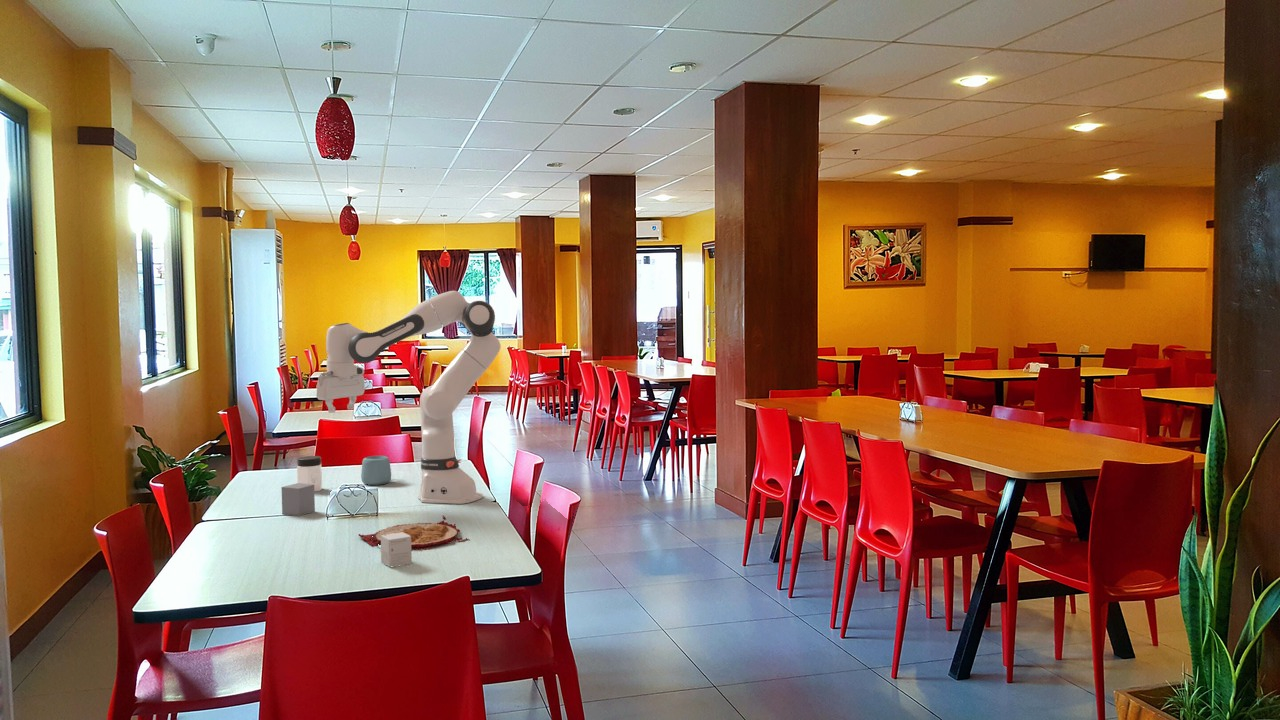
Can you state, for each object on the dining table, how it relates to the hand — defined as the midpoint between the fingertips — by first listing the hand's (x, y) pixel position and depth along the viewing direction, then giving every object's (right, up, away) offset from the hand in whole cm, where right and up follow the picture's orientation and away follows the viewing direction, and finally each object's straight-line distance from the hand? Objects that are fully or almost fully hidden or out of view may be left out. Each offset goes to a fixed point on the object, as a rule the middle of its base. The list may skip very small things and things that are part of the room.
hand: (341, 410), depth 304 cm
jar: (-18, -30, +20) cm, 41 cm away
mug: (+3, -30, +34) cm, 45 cm away
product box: (+39, -35, -74) cm, 91 cm away
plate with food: (+39, -35, -51) cm, 73 cm away
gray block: (-8, -32, -16) cm, 37 cm away
